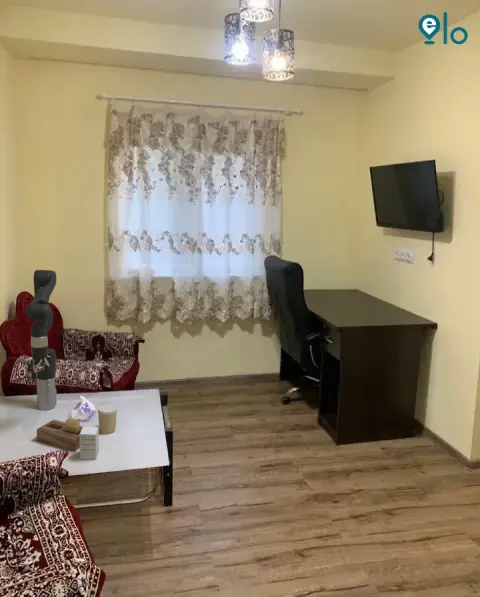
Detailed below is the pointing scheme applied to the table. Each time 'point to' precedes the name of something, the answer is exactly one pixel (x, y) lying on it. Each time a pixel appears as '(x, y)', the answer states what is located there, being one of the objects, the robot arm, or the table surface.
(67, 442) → the two-slot wooden tray
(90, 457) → the miniature drawer cabinet
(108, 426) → the coffee cup
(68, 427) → the yellow tan block
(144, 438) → the table surface
